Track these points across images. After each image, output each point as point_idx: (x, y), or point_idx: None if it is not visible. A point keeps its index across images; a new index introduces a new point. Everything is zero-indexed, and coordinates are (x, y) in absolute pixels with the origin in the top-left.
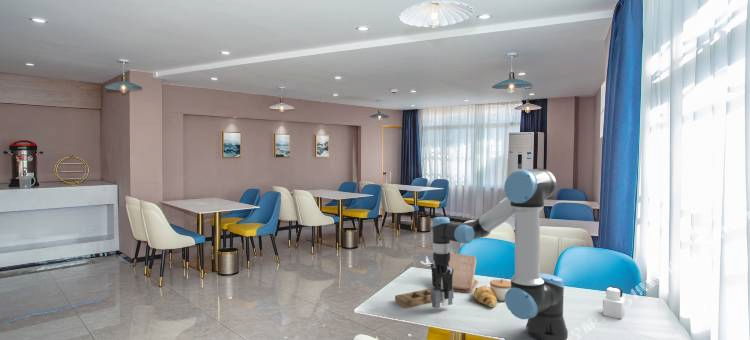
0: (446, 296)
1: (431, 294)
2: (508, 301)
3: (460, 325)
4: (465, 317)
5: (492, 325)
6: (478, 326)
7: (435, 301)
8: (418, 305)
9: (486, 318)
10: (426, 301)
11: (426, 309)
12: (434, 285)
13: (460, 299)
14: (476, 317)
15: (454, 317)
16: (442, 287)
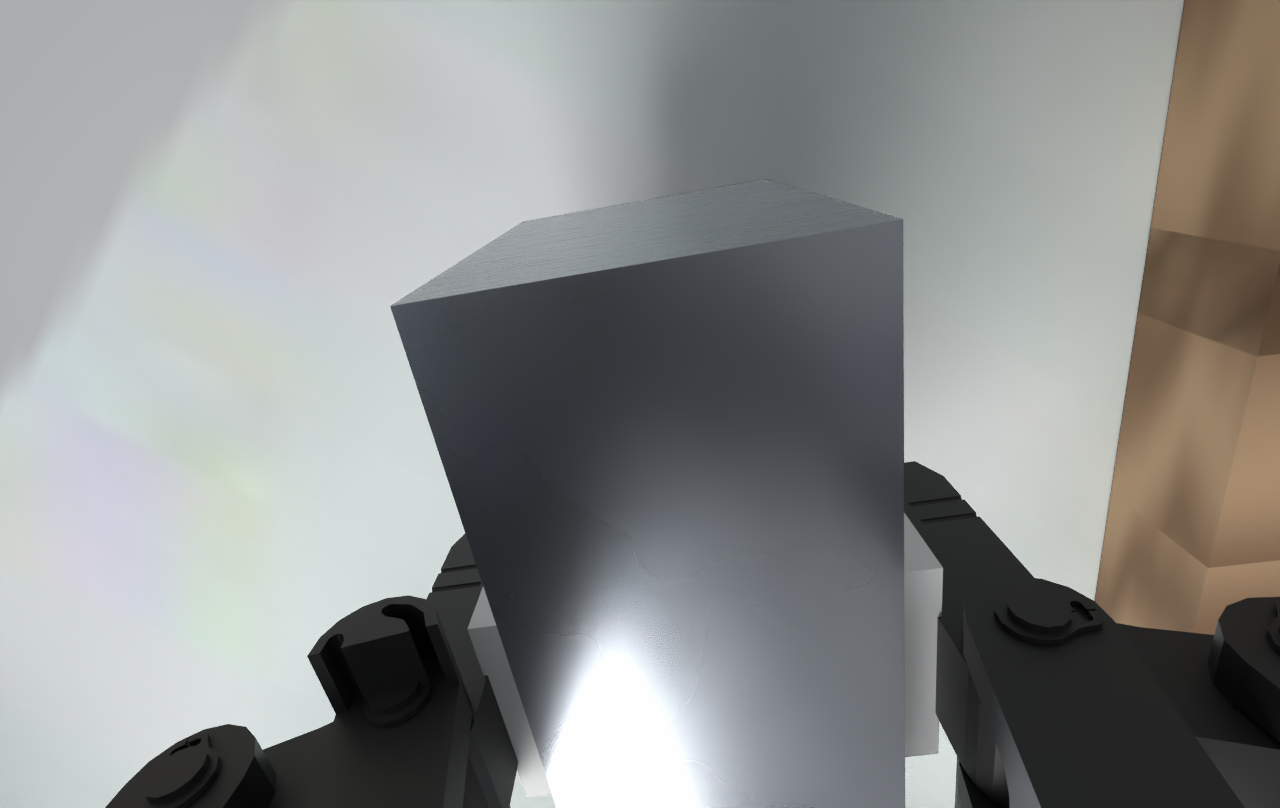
0: (442, 586)
1: (755, 200)
2: None
3: (42, 350)
4: (338, 559)
5: (44, 691)
6: (8, 548)
7: (531, 222)
8: (1173, 82)
9: (263, 738)
10: (1174, 308)
11: (885, 145)
12: (1211, 656)
13: (952, 796)
14: (312, 668)
15: (369, 426)
16: (751, 796)
